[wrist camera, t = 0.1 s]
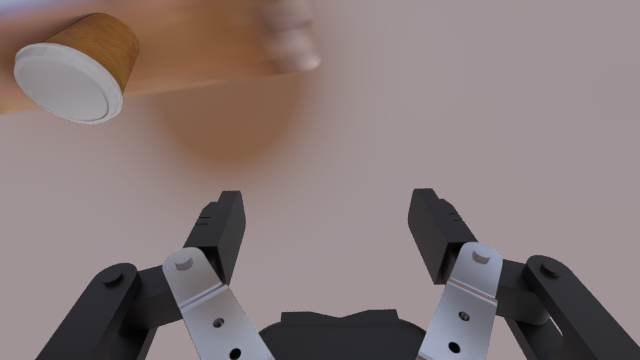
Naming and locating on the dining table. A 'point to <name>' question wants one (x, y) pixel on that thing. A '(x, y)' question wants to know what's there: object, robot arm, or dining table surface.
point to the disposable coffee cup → (80, 69)
